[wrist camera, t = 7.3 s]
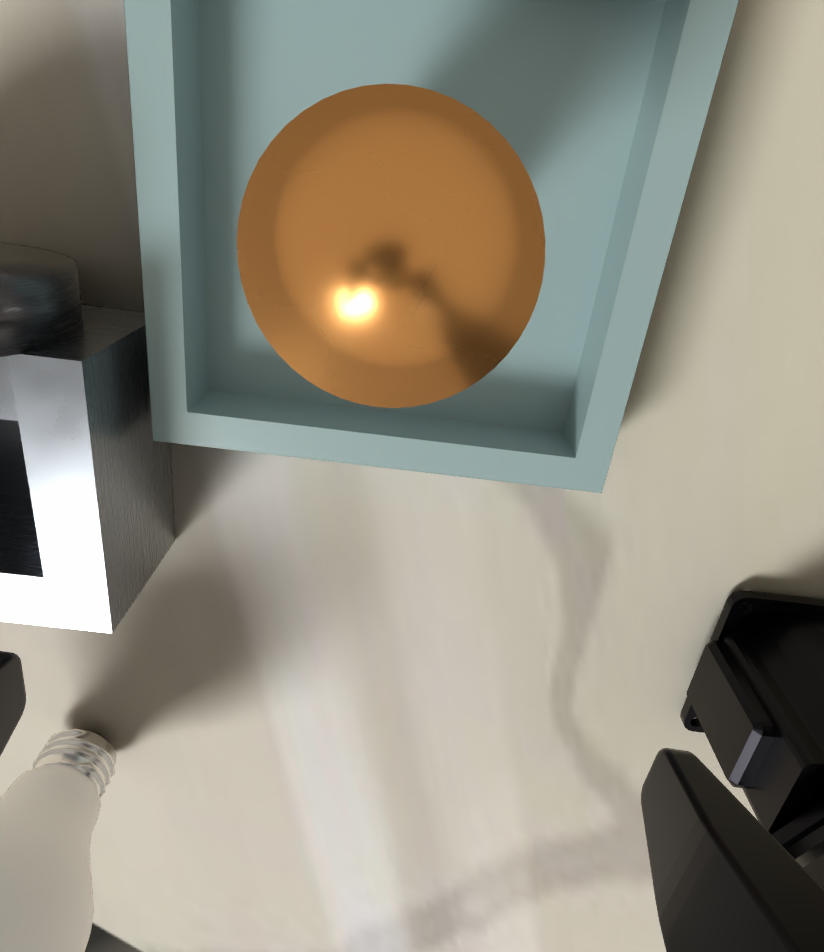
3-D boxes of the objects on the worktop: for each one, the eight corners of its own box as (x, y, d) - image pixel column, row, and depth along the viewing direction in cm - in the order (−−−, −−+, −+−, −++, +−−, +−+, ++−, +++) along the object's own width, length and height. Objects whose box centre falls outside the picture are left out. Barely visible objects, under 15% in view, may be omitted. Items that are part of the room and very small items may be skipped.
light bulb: (29, 657, 26) (-224, 971, 16) (190, 715, 27) (48, 1043, 17) (-2, 761, 28) (-236, 1086, 18) (145, 810, 29) (0, 1140, 20)
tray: (710, -39, 15) (758, -72, 13) (583, 457, 21) (601, 493, 19) (160, -115, 15) (113, -162, 13) (183, 410, 21) (153, 440, 18)
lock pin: (512, 132, 17) (577, 108, 9) (481, 320, 19) (513, 423, 11) (325, 107, 16) (237, 60, 9) (314, 299, 18) (236, 390, 11)
